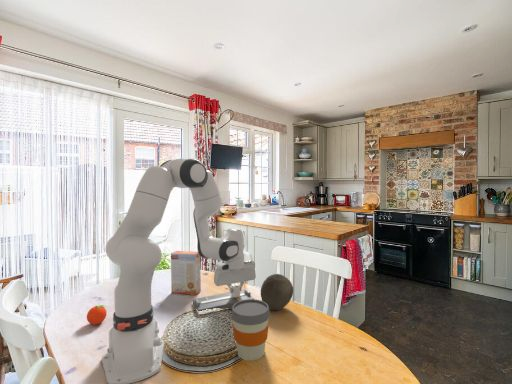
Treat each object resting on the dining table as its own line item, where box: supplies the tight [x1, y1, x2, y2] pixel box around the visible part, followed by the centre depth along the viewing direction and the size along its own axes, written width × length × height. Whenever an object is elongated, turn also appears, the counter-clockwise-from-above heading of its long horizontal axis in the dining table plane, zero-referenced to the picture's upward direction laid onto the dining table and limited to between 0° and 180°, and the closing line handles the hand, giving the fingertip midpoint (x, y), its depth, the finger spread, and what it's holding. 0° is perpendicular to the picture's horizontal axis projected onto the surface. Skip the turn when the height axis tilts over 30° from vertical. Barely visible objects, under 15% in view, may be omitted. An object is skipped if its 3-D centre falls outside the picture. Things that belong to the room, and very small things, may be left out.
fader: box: [230, 283, 240, 298], centre depth 126 cm, size 5×3×5 cm, turn 25°
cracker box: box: [170, 250, 202, 296], centre depth 138 cm, size 14×6×21 cm, turn 78°
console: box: [192, 288, 255, 311], centre depth 124 cm, size 12×26×4 cm, turn 115°
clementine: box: [86, 304, 108, 326], centre depth 107 cm, size 8×7×7 cm
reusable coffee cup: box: [231, 298, 270, 361], centre depth 88 cm, size 13×13×15 cm
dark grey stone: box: [260, 273, 294, 311], centre depth 118 cm, size 14×14×15 cm
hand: (235, 291), depth 126 cm, fingers closed on fader, 3 cm apart
